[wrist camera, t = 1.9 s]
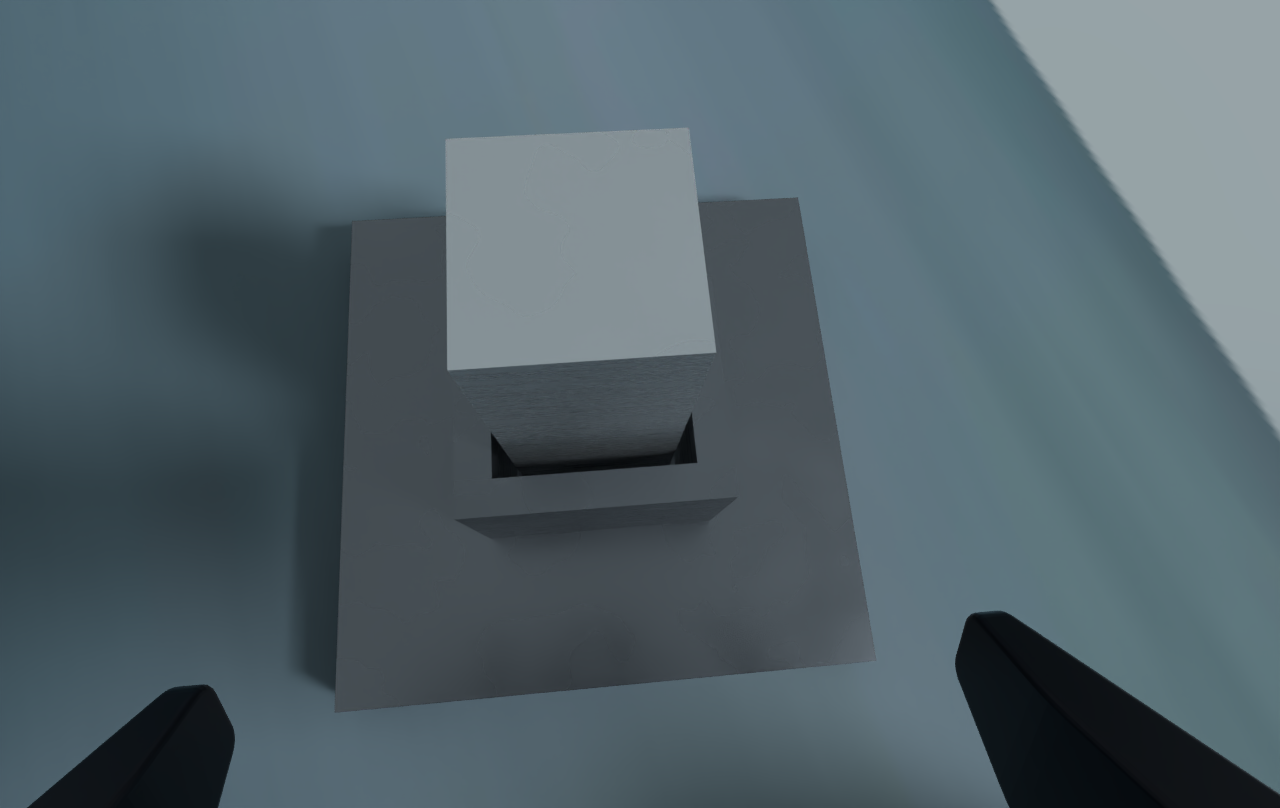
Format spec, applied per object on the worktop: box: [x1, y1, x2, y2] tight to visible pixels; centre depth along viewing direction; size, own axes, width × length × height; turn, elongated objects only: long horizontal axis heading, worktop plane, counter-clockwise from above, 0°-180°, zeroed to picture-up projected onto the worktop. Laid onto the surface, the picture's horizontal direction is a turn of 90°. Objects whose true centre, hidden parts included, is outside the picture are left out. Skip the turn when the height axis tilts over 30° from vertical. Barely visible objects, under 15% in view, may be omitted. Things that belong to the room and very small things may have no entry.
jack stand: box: [335, 198, 876, 713], centre depth 18 cm, size 14×14×6 cm
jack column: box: [446, 128, 716, 476], centre depth 14 cm, size 4×4×10 cm
